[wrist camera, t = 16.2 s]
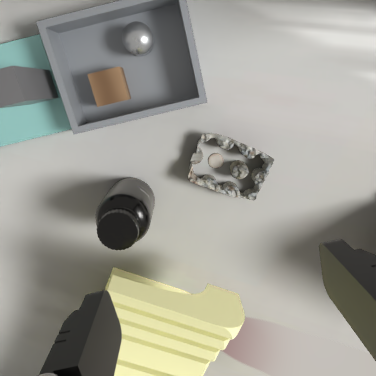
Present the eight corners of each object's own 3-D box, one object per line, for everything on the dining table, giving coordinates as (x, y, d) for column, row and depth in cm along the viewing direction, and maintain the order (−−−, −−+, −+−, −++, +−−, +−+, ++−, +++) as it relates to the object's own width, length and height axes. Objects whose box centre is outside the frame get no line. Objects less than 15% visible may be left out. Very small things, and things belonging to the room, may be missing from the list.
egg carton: (183, 173, 49) (183, 180, 45) (203, 125, 47) (205, 128, 43) (248, 199, 50) (254, 208, 46) (271, 153, 48) (279, 159, 44)
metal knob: (138, 19, 42) (135, 14, 39) (159, 40, 42) (158, 37, 40) (119, 41, 42) (115, 38, 40) (141, 62, 43) (138, 60, 40)
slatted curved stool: (159, 393, 60) (152, 514, 43) (73, 369, 58) (31, 486, 41) (226, 255, 53) (251, 336, 35) (131, 220, 50) (107, 289, 33)
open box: (182, -4, 42) (183, -16, 37) (204, 100, 45) (207, 102, 41) (51, 28, 42) (35, 21, 37) (84, 129, 46) (73, 134, 41)
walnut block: (122, 67, 43) (119, 66, 40) (131, 98, 44) (128, 99, 42) (93, 75, 43) (87, 74, 41) (102, 105, 45) (97, 107, 42)
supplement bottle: (161, 185, 49) (156, 216, 37) (146, 225, 51) (137, 266, 39) (116, 169, 48) (97, 195, 36) (102, 211, 50) (80, 248, 38)
